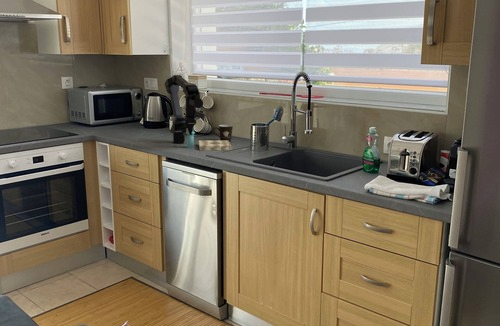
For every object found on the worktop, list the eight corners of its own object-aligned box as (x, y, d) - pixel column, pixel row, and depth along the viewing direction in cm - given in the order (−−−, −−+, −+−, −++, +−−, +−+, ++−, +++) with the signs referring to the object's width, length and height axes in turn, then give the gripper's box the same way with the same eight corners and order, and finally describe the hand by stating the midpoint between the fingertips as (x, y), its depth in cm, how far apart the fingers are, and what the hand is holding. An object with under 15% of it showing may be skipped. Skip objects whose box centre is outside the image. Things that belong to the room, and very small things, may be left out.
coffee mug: (234, 140, 316) (234, 125, 314) (229, 143, 308) (229, 127, 306) (217, 139, 320) (217, 123, 318) (212, 141, 312) (212, 125, 310)
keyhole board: (199, 150, 284) (199, 146, 283) (198, 144, 301) (198, 140, 300) (231, 150, 286) (231, 145, 286) (228, 144, 304) (228, 140, 303)
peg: (186, 148, 289) (186, 132, 287) (186, 146, 294) (186, 131, 292) (194, 148, 290) (194, 132, 288) (194, 146, 294) (194, 131, 292)
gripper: (205, 108, 279) (205, 136, 282) (203, 104, 297) (203, 130, 300) (185, 108, 277) (185, 136, 280) (184, 104, 295) (184, 130, 298)
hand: (190, 133), depth 290 cm, fingers open, 9 cm apart
